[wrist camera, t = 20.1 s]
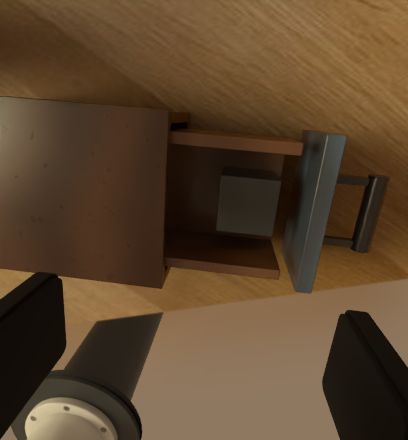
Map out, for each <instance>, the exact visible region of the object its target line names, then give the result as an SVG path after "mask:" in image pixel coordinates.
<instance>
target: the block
mask: <svg viewBox="0 0 408 440" xmlns="http://www.w3.org/2000/svg"><path fill="white" fill-rule="evenodd" d="M281 183H282V181H281V180H280V178H279V177H278V176H277V174H276V173H275V172H274V171H267V170H257V169H247V168H236V167H226V166H224V167H223V171H222V175H221V184H220V194H219V204H218V214H217V224H216V231H223V232H232V233H241V234H250V235H259V236H268V237H272V236H273V231H274V225H275V219H276V213H277V207H278V201H279V195H280V189H281Z"/></svg>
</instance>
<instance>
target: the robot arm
mask: <svg viewBox="0 0 408 440" xmlns="http://www.w3.org/2000/svg"><path fill="white" fill-rule="evenodd" d="M65 348H66V332H65V315H64V300H63V284H62V280H61V279H60V278H58V276H57V274H55V273H47V272H36V273H35V274H34V275H32V276H31V277H30V278H28V279H27V280H26V281H24V282H23V283H22V284H20V285H19V286H18V287H16V288H15V289H14V290H12V291H11V292H10V293H8V294H7V295H6V296H4V297H3V298H2V299H0V439H1V438H2V436H3V435H4V434H5V432H6V431H7V430H8V428H9V427H10V425H11V424H12V423H13V421H14V420H15V419H16V417H17V416H18V415H19V413H20V412H21V411H22V409H23V408H24V406H25V405H26V404H27V402H28V401H29V400H30V398H31V397H32V396H33V394H34V393H35V392H36V390H37V389H38V387H39V386H40V385H41V383H42V382H43V381H44V379H45V378H46V377H47V375H48V374H49V373H50V371H51V370H52V368H53V367H54V366H55V364H56V363H57V361H58V360H59V359H60V358H61V356H62V354H63V353H64V351H65ZM322 385H323V391H324V394H325V397H326V400H327V403H328V406H329V409H330V412H331V414H332V417H333V420H334V423H335V426H336V429H337V432H338V435H339V437H340V440H408V367H407V366H406V365H405V363H404V362H403V360H402V359H401V358H400V356H399V355H398V353H397V352H396V351H395V349H394V348H393V347H392V345H391V344H390V342H389V341H388V340H387V338H386V337H385V336H384V334H383V333H382V331H381V330H380V329H379V327H378V326H377V325H376V323H375V322H374V320H373V319H372V318H371V316H370V315H369V314H368V313H367V312H360V311H353V310H347V311H346V312H345V314H341V315H340V316H339V319H338V323H337V327H336V331H335V334H334V338H333V342H332V345H331V349H330V353H329V357H328V361H327V364H326V368H325V372H324V376H323V381H322ZM25 432H26V436H27V440H118V436H117V433H116V429H115V428H114V426H113V424H112V422H111V421H110V420H109V418H108V417H107V416H106V415H105V414H104V413H103V412H101V411H100V410H99V409H97V408H96V407H94V406H92V405H90V404H88V403H86V402H84V401H81V400H78V399H73V398H68V397H57V398H50V399H47V400H44V401H42V402H40V403H39V404H37V405H36V406H35V407H34V408H33V409H32V411H31V412H30V414H29V415H28V417H27V419H26V422H25Z"/></svg>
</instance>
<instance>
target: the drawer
mask: <svg viewBox="0 0 408 440" xmlns="http://www.w3.org/2000/svg"><path fill="white" fill-rule="evenodd" d="M346 138H347V136H346V135H340V134H333V133H327V132H320V131H311V130H303V134H302V139H301V142H298V141H296V140H293V139H290V138H287V137H279V136H268V135H257V134H245V133H234V132H223V131H211V130H200V129H189V128H177V127H171V131H170V154H169V178H168V202H167V225H166V249H165V266H167V267H176V268H184V269H192V270H201V271H209V272H217V273H226V274H234V275H242V276H251V277H259V278H267V279H276V280H278V279H279V274H280V269H279V266H278V263H277V259H276V256H275V252H274V249H273V245H272V242H271V238H272V237H268V236H259V235H250V234H241V233H232V232H223V231H216V224H217V214H218V204H219V194H220V184H221V175H222V171H223V167H224V166H226V167H236V168H247V169H257V170H267V171H274V172H275V173H276V174H277V176H278V177H279V178H280V180H281V177H282V171H283V165H284V159H285V154H287V155H298V161H297V167H296V172H295V178H294V183H293V189H292V194H291V200H290V206H289V211H288V217H287V222H286V228H285V233H284V239H283V244H282V250H281V252H282V255H283V257H284V260H285V263H286V266H287V269H288V272H289V275H290V278H291V281H292V284H293V286H294V289H295V292H302V293H311V292H312V288H313V283H314V279H315V275H316V270H317V266H318V261H319V257H320V253H321V248H322V244H326V245H335V246H344V247H350V249H352V250H354V251H356V252H360V253H368V252H369V249H370V245H371V242H372V238H373V235H374V231H375V228H376V224H377V221H378V217H379V214H380V210H381V207H382V203H383V200H384V196H385V193H386V189H387V186H388V182H389V179H390V177H388V176H384V175H377V174H369V175H368V177H363V176H352V175H342V174H339V169H340V165H341V160H342V156H343V152H344V147H345V143H346ZM336 183H342V184H352V185H362V186H365V190H364V194H363V198H362V202H361V205H360V209H359V213H358V217H357V221H356V225H355V228H354V232H353V236H352V239H351V238H344V237H335V236H325V231H326V226H327V222H328V217H329V213H330V209H331V204H332V200H333V196H334V191H335V187H336Z"/></svg>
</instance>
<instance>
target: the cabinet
mask: <svg viewBox="0 0 408 440" xmlns="http://www.w3.org/2000/svg"><path fill="white" fill-rule="evenodd" d="M189 122H190V113H188V112H180V111H172V110H162V109H151V108H139V107H127V106H115V105H103V104H91V103H80V102H68V101H56V100H44V99H32V98H20V97H9V96H0V269H8V270H16V271H24V272H32V273H36V272H47V273H55V274H57V276H64V277H72V278H80V279H88V280H96V281H104V282H112V283H120V284H128V285H136V286H144V287H152V288H159V289H162V287H163V285H164V282H165V280H166V277H167V275H168V273H169V270H170V268H171V267H167V266H165V249H166V225H167V202H168V178H169V154H170V131H171V127H177V128H189Z"/></svg>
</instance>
